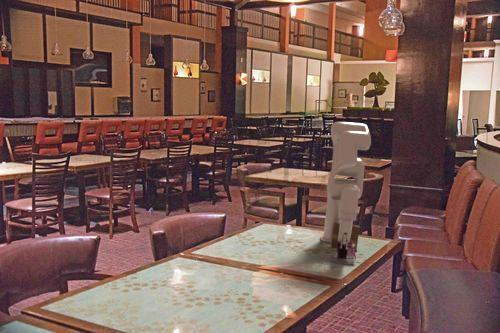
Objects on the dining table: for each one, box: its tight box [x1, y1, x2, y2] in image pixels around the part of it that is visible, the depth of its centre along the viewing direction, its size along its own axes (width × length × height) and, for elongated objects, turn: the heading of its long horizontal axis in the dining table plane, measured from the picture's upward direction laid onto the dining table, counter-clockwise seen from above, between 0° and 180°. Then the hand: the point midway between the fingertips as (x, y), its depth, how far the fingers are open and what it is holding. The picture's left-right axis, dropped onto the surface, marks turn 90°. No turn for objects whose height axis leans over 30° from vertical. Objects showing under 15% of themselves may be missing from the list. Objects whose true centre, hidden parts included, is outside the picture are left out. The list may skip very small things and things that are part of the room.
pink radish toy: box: [336, 243, 357, 260], centre depth 226 cm, size 7×5×9 cm
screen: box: [330, 223, 360, 252], centre depth 244 cm, size 2×12×12 cm, turn 78°
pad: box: [330, 255, 355, 267], centre depth 226 cm, size 8×10×1 cm
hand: (342, 255), depth 226 cm, fingers closed on pink radish toy, 5 cm apart
